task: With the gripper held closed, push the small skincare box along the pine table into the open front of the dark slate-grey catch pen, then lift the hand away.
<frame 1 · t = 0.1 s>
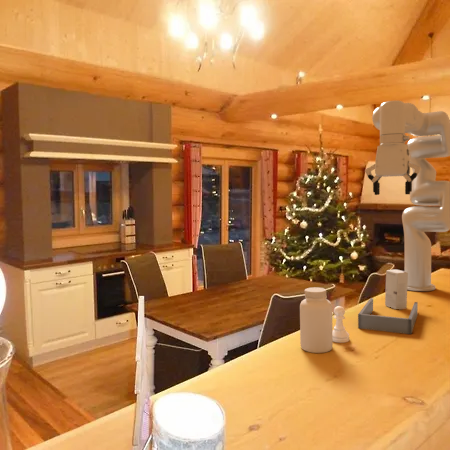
hand: (392, 194, 147), 37 cm above the counter, tool pointing down, fingers open, 9 cm apart
catch pen: (389, 321, 134), on the counter
chess pawn: (339, 340, 120), on the counter
skincare box: (396, 307, 150), on the counter
pill bottle: (316, 348, 114), on the counter
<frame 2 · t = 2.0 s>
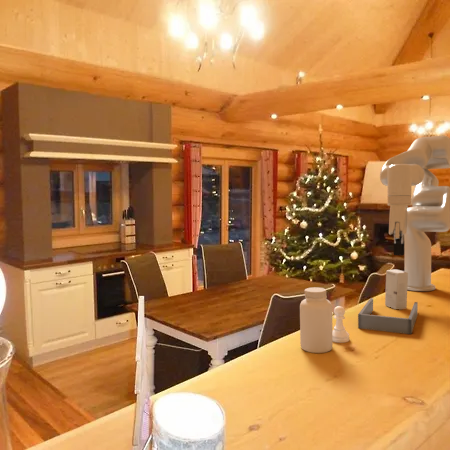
hand: (398, 254, 154), 16 cm above the counter, tool pointing down, fingers closed
nothing on the counter moved.
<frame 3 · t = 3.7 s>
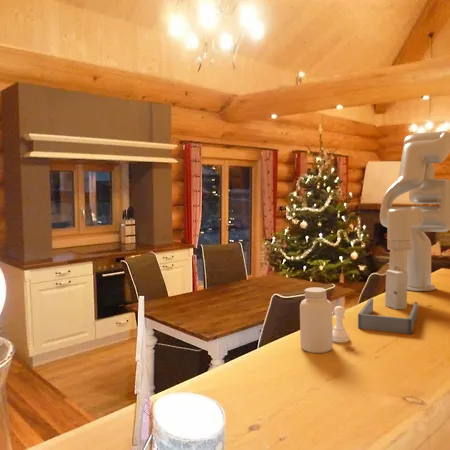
hand: (398, 298, 155), 2 cm above the counter, tool pointing down, fingers closed
skincare box: (396, 307, 150), on the counter, touching gripper
everything else where it was.
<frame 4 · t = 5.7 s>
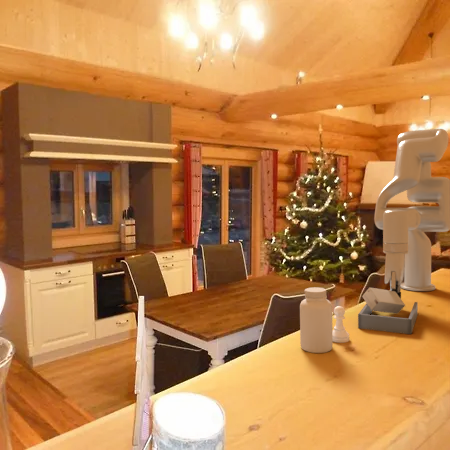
hand: (395, 304, 147), 2 cm above the counter, tool pointing down, fingers closed
skincare box: (397, 302, 143), point 3 cm above the counter, touching gripper
everything else where it was.
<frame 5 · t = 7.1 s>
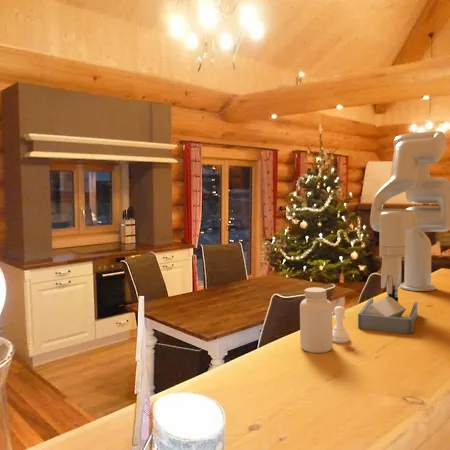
hand: (392, 309, 141), 2 cm above the counter, tool pointing down, fingers closed
skincare box: (396, 307, 137), point 3 cm above the counter, touching gripper
everything else where it was.
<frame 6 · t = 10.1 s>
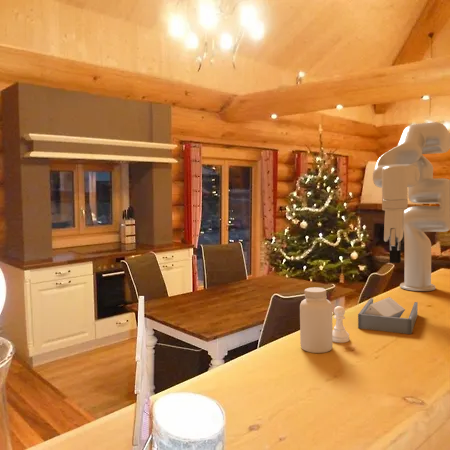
hand: (395, 262, 145), 16 cm above the counter, tool pointing down, fingers closed
skincare box: (395, 307, 137), point 3 cm above the counter, touching catch pen
everything else where it was.
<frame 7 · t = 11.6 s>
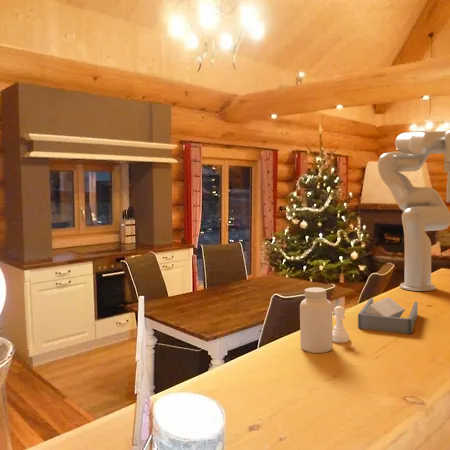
nothing on the counter moved.
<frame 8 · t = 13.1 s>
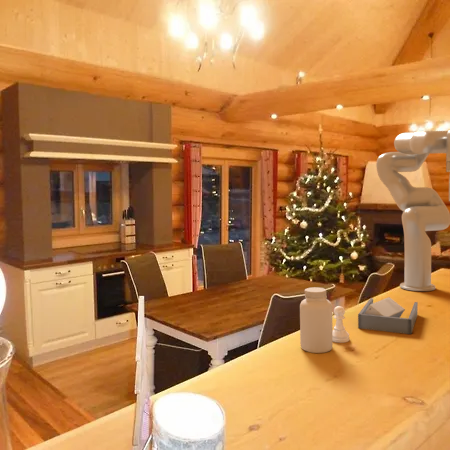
nothing on the counter moved.
at the end: skincare box 3.9 cm from the catch pen (horizontally); skincare box moved 13.8 cm from its start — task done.
